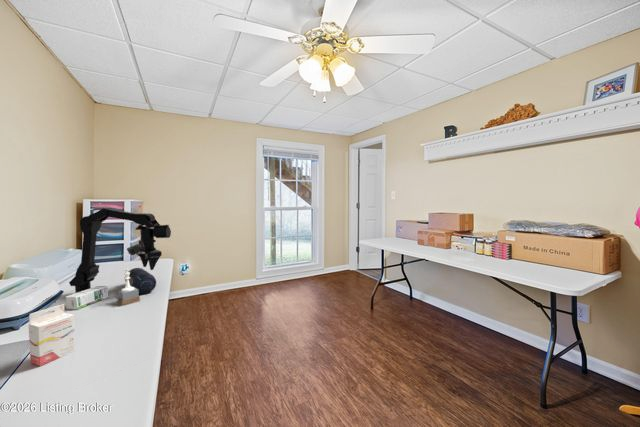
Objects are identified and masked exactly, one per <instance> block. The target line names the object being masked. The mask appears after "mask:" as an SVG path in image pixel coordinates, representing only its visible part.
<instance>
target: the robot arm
mask: <svg viewBox="0 0 640 427" xmlns="http://www.w3.org/2000/svg"><path fill="white" fill-rule="evenodd" d="M108 218H114V219H119V220H125V221H131V222H133V223H135V224H138V226H137V227H135V230H136V231H139V230H140V232H139V233H140V239H139V240H138V243H137V244H133V245H132V246H130V247H127V248H126V251H127V253H128V254H129V255H131V256H134V255H136V256H138V257H139V258H140V260H141V264H142V266H143V268H145V267H147V266H148V265H149V269H150V271H152V270H153V271H154V269H155V266H156V265H157V263H158V261H159V259H160V258H161V257H162V256H163V255H162V251H161V250H160V249H156V248H157V247H155V243H156V242H157V241H156V239H169V238H171V234H172V230H171V228H170V225H169V224H163V225H162V224H160V223H159V222H158V221H157V219H156V217H155V215H154V214H153V213H149V212H148V213H143V212H141V213H138V212H137V213H135V212H129V211H126V210H125V211H124V210H121V209H120V210H119V209H113V208H110V207H105V208H104V207H103V208H101V209H98V211H95V212H93V213H91V214H89V215H87V216H83V217H82V218H80V219H79V229H80V231H81V233H82V235H83V236H82V246H81V261H80V264H79V265H78V267H77V269H76V271H75V274H74V277H73V278H71V280H70V281H69V282H68V283H69V286H70V287H74V290H75V291H74V294H75V293H78V292H81V291H84V290H87V289H90V288H92V286H91V282H93V281H94V280H95V278H96V277H97V276H98V274H99V273H100V269H99V268H100V264H96V263H95V254H96V244H97V234H98V232H99V231H100V229H101V226H102V223H103V222H104V221H106V220H107V219H108ZM155 238H156V239H155Z"/></svg>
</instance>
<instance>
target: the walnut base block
mask: <svg viewBox="0 0 640 427" xmlns="http://www.w3.org/2000/svg"><path fill="white" fill-rule="evenodd" d="M140 301H141V298H140V295H139V296H136V297H132V298H129V299H125V300H123V299H121V298H120V297H119V296H118V297H117V303H118V304H119V305H121V306H123V307H125V306H127V305H131V304H135V303H139V302H140Z"/></svg>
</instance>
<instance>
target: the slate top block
mask: <svg viewBox="0 0 640 427" xmlns="http://www.w3.org/2000/svg"><path fill="white" fill-rule="evenodd" d="M139 294H140V293H139V290H138V289H136V288H135V287H134V290H132V291H128V292H121V289H120V290H118V297H120V298H121V299H123V300H125V299H129V298H132V297H136V296H140V295H139Z"/></svg>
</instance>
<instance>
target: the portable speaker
mask: <svg viewBox="0 0 640 427" xmlns="http://www.w3.org/2000/svg"><path fill="white" fill-rule="evenodd" d="M128 272H130V274H129V277H130V278H129V284H130V286H131V287H135V288H136V289H138V290H139V294H141V295H143V294H144V295H146V294H148V293H151V292H152V291H153V290H154V289H155V288H156V286H157V279H156V277H155V276H154V275H153V274H151V273H150V272H149V271H147V270H145V269H144V268H142V267H134V268H131V269H129V271H128ZM125 278H126V276H125V275H124V282H126V279H125Z"/></svg>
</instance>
